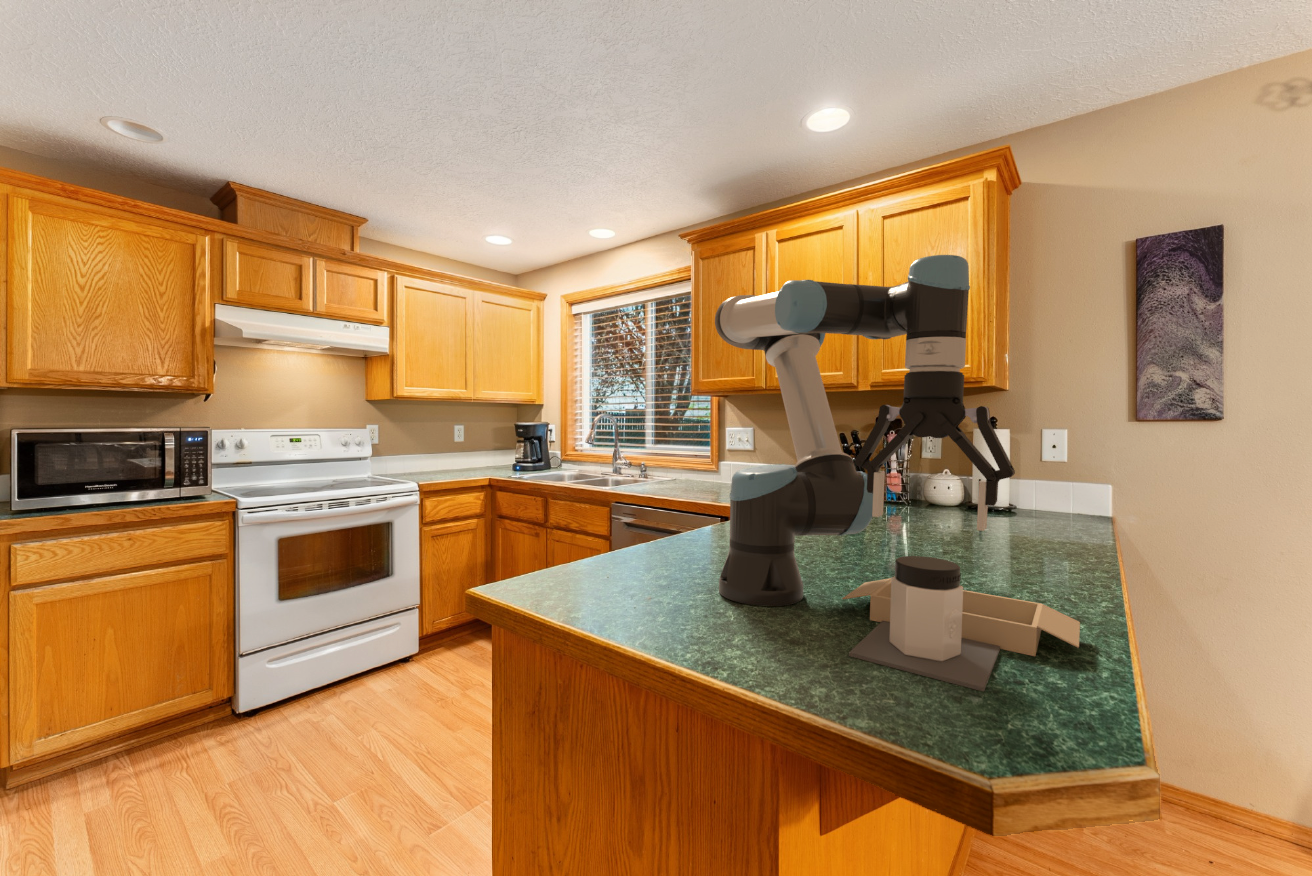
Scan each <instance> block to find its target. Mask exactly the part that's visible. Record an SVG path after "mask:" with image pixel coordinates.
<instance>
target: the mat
mask: <svg viewBox="0 0 1312 876" xmlns="http://www.w3.org/2000/svg"><path fill="white" fill-rule="evenodd" d="M889 638H890V622H887V621H882V622H879V623H878V624H877V625H876V626H875V627H874V628H873V629H872V630H871V631H870V632H869V633H868V634H867V635H866V636H865V637H863V639H862V640H861V641H859V642H858V643H857V644H856V645H855V646H854V647H853V648H852V649H851V650H850V651H849V652H848V657H851V658H855V659H860V660H863V661H865V662H866V661H867V662H870V663H873V664H877V665H881V666H885V667H889V668H892V669H897V670H900V671H904V672H907V673H912V674H916V675H919V676H924V677H927V678H930V679H935V680H938V681H942V682H946V683H950V684H953V685H957V686H960V687H965V688H968V689H971V690H976V691H980V692H985V689H986V687H987V684H988V682H989V680H990V677H991V674H992V672H993V669H994V667H995V664H996V662H997V660H998V657H999V654H1000V651H1001V649H1000V646H997V645H993V644H988V643H984V642H979V641H974V640H970V639H965V638H961V654H960V655H958V656H955V657H953V658H950V659H947V660H945V661H942V662H940V661H935V660H929V659H924V658H918V657H913V656H908V655H905V654H904V653H902V652H901V651H900V650H899V649H898V648H896V647H895V646H894V645H893V644H892V643H890V641H889Z"/></svg>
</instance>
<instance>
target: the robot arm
mask: <svg viewBox="0 0 1312 876" xmlns="http://www.w3.org/2000/svg"><path fill="white" fill-rule="evenodd" d="M969 269H970V268H969V262H968V260H967V259H965V258H964V257H963V256H960V255H956V254H936V255H930V256H929V255H928V256H925V257H919V258H918V259H915V260H914V261H913V262H912V263H911V265H910V266H909V270H908V275H907V281H905V282H903V283H901V284H897V285H894V286H883V285H881V286H880V285H870V284H869V285H868V284H852V283H849V284H847V283H839V282H838V283H837V282H827V281H816V280H813V279H801V280H794V279H791V280H788V281H786V282H785V283H784V284H783V285H782V287H781V288H779V291H775V292H770V293H766V294H761V295H754V294H742V295H740V294H739V295H735V296H731V297H729V298H727V299H726V300H724V301H722V303H721V304H720V305H719V307H718V308H717V309H716V312H715V315H714V326H715V330H716V332H717V334H718V335H719V337H720V338H721V339H722V340H723V341H724V342H726V343H727V344H728V345H731V346H733V347H735V348H738V349H742V350H754V351H756V350H757V351H764V354H765V355H764V356H765V359H766V362H767V364H768V365H770V366H771V367H774V368H775V371H776V372H775V373H776V377H777V380H778V385H779V388H780V392H781V397H782V401H783V405H784V409H785V413H786V418H787V422H788V427H789V431H790V435H791V439H792V443H793V448H794V452H795V455H796V456H795V457H796V461H797V462H796V463H795V464H794V465H792V464H783V463H782V464H766V465H765V464H764V465H756V466H750V467H746V468H742V469H740V470H737V471H736V472H735V473H734V474H733V475H732V477H731V485H730V493H729V499H730V500H729V502H730V503H729V506H730V507H729V511H730V512H729V513H730V514H729V549H728V553H727V556H726V559H725V562H724V564H723V567H722V571H721V572H720V576H719V581H718V592H719V594H720V595H721V596H722V597H723V598H725V599H727V600H731V601H732V602H736V603H740V604H743V605H750V606H757V607H759V606H760V607H781V606H789V605H794V604H797V603H799V602H801V601H802V600H803V598H804V582H803V579H802V576H801V573H800V569H799V565H798V562H797V559H796V556H795V540H796V538H795V537H799V536H800V537H804V536H805V537H806V536H839V537H840V536H844V535H852V534H853V535H854V534H859V533H861V532H863V531H864V530H866V528H868V526H869V525H870V523H871V522H872V520H873V518H878V517H882V516H883V514H884V501H885V499H884V498H885V480H886V479H885V475H886V472H885V471H883V470H882V471H880V470H881V468H882V467H883V466H884V465H885V464H886V463H887V462H888V461H889V460H890V458H892V456H893V455H895V454H896V452H897V451H898V450H899V449H900V448H902V446H903V445H904V444H906V442H907V441H908V440H910V439H911V438H912V437H913V436H915V437H916V438H929V437H930V438H935V439H945V438H948V437H949V438H950V439H951V440H952V442H953V443H955V445H956V446H958V448H959V449H960V450H961V451H962V453H963V454H964V455H965V456H966V457H967V459H969V460H970V462H971V463H972V464H973V465H974V466H975V467H976V469H977V470H978V471H979V473H980V474H981V475H982V476H983V477H984V478H985V479H981V480H979V481H978V499H977V501H978V502H977V518H976V520H977V521H976V522H977V523H976V531H982V532H984V531H985V530H986V529H987V528H988V527H987V526H988V525H987V524H988V508H989V506H992V507H994V506H996V504H997V502H998V497H999V495H998V493H999V482H1000V480H1005V479H1008V478H1011V477H1013V476H1015V474H1016V471H1015V468H1014V467H1013V464H1012V462H1011V461H1010V459H1009V456H1008V455H1007V452H1006V451H1005V449H1004V447H1003V445H1002V443H1001V441H1000V438H999V437H998V435H997V433H996V431H995V429H994V427H993V425H992V423H991V412H990V408H989V407H988V406H983V405H980V406H978V407H970V408H966V407H965V405H964V389H965V374H964V372H961V371H960V370H961V369H964V368H965V367H966V350H967V325H968V323H967V322H968V309H969V291H970V289H971V286H970V275H969V272H970V270H969ZM826 334H832V335H833V334H835V335H836V334H838V335H840V334H841V335H848V336H849V335H850V336H851V335H852V336H861V337H862V336H863V337H864V338H866V339H869V340H884V341H885V340H889V339H892V338H895V337H899V336H904V335H906V337H905V359H904V361H905V362H904V367H905V368H906V370H909V371H908V372H906V373H905V375H903V376H904V382H903V400H902V401H903V402H902V405H901V407H896V406H892V405H889V404H882V405H881V406H879V410H878V415H877V420H876V422H875V424H874V426H873V428H872V429H871V431H870V433H869V434H868V437H867V438H866V440H865V442H864V443H863V444H862V445H863V446H862V447H861V449H860V451H859V452H858V454H857V456H856V458H855V460H853V457H852V456H851V455H849V454H848V453H845V452H843V450H842V448H841V443H840V439H839V437H838V432H837V429H836V426H835V422H834V419H833V415H832V412H831V408H830V404H829V401H828V395H827V393H826V389H825V385H824V382H823V379H822V375H821V372H820V368H819V364H818V361H817V357H816V356H817V355H818V354H819V352H820V350H821V347H822V345H823V343H824V341H825V338H826ZM898 416H899V417H900V419H902V421H903V422H904V424H905V425H903V427H901V428H900V430H899V431H898V432H897V433H896V435H895V436H894V437H893V438H892V439H891V440H890V441H889V442H888V443H887V444H886V445H885V446H884V447H883V448H882V449H881V450H880V451H879V452H878V453H877V455H875V456H874V457H873V458H872V456H873V454H874V453H875V451H876V449H877V448H878V445H879V444H880V442H881V440H882V438H883V437H884V435H885V433H886V432H887V430H888V428H889V426H890V424H891V422H892V421H893V422H894V421H895V420H896V419H897V417H898ZM966 417H968V418H969V419H970V421H971V422H972V423H973V424H977V427H978V429H979V432H980V433H981V436H982V438H983V440H984V442H985V443H986V446H987V448H988V450H989V451H990V453H991V455H992V457H993V460H994V462H995V463H996V465H997V467H998V469H997V470H996V469H995V468H994V467H993V466H992V464H991V463H990V462H989V461H988V460H987V459H986V458H985V456H984V455H983V454H982V453H981V451H980V450H979V449H978V448H977V447H976V446H975V445H974V444H973V442H972V441H971V440H970V439H969V438H968V437H967V434H966V433H965V432H964V431H963V430H962V429H961V428H960V426H959V425H960V424H961V423H962V422H963V421H964V420H965V419H966ZM871 458H872V459H871ZM856 466H857V467H860V468H862V469H865V470H866V472H863V471H857V470H856Z"/></svg>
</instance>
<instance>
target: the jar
mask: <svg viewBox="0 0 1312 876" xmlns="http://www.w3.org/2000/svg"><path fill="white" fill-rule="evenodd" d="M894 563H895V564H894V576H892V577H890V578H891V607H890V638H889V641H890V643H892V644H893V645H894V646H895V647H896V648H898V649H899V650H900V651H901V652H902V653H904V654H905V655H908V656H913V657H918V658H924V659H929V660H935V661H940V662H942V661H945V660H947V659H950V658H953V657H955V656H958V655H960V654H961V636H962V608H963V590H964V587H963V586H962V585H960V582H961V575H962V574H961V566H960V565H958V563H955V562H953V561H950V560H947V559H946V560H945V559H943V558H936V557H931V556H930V557H929V556H922V555H921V556H919V555H917V556H916V555H907V556H899V557H897V558H896V559H895V561H894Z"/></svg>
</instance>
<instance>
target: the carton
mask: <svg viewBox="0 0 1312 876" xmlns="http://www.w3.org/2000/svg"><path fill="white" fill-rule="evenodd" d="M891 578H892V577H890V578H884V579H879V580H872V581H865V582H863V583H862V584H861V585H860V586H858V587H856V588H855V589H854V590H852V591H850V592H849V593H848V594H846V595H845V596H844V597H842V600H848V599H853V598H859V597H860V598H861V597H862V598H863V597H867V596H870V601H869V602H870V606H869V620H870V621H874V622H878V623H881V622H882V621H887V622H890V607H891ZM1080 628H1081V621H1079V620H1076V619H1075V618H1073V617H1070V616H1068V615H1066V614H1064V613H1062V612H1060V611H1058V610H1056V609H1054V608H1052V607H1049V606H1047V605H1045V604H1043V603H1040V602H1034V601H1029V600H1023V599H1017V598H1012V597H1011V598H1010V597H1005V596H999V595H994V594H988V593H983V592H982V593H981V592H977V591H971V590H964V589H963V608H962V636H961V638H965V639H970V640H974V641H979V642H984V643H988V644H993V645H997V646H1000V650H1004V651H1008V652H1013V653H1019V654H1023V655H1028V656H1032V657H1036V654H1037V652H1038V647H1039V642H1040V638H1041V633H1042V631H1044V632H1045V633H1047V634H1050V635H1052V636H1054V637H1056V638H1057V639H1060V640H1061V641H1064V642H1066V643H1068V644H1070V645H1072V646H1073V647H1075V648H1077V649H1079V647H1080V632H1081V631H1080V630H1081V629H1080Z"/></svg>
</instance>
